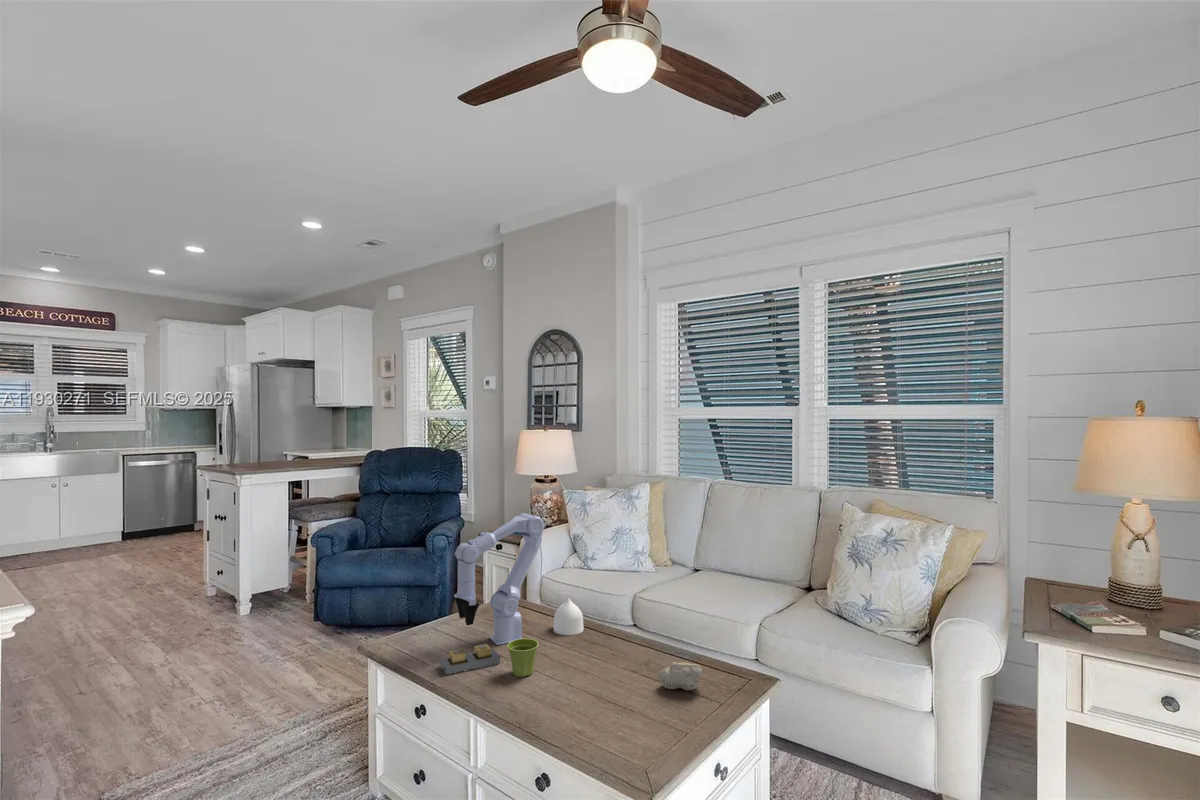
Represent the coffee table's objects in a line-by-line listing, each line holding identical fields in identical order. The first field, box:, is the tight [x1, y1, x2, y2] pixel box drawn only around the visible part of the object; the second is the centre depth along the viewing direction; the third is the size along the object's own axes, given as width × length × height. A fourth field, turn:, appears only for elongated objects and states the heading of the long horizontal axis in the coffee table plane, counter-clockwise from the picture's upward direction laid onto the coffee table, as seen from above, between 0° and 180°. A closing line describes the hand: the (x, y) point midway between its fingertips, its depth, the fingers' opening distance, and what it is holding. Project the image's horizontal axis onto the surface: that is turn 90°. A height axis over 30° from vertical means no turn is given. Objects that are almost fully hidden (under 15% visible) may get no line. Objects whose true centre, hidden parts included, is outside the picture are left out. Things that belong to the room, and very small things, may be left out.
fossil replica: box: [657, 661, 703, 692], centre depth 173 cm, size 12×8×10 cm
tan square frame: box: [474, 643, 492, 660], centre depth 190 cm, size 4×4×5 cm
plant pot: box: [506, 638, 540, 678], centre depth 183 cm, size 9×9×9 cm
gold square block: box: [448, 648, 466, 665], centre depth 186 cm, size 4×4×5 cm
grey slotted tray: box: [439, 648, 501, 675], centre depth 188 cm, size 17×7×2 cm, turn 119°
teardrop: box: [552, 596, 585, 636], centre depth 219 cm, size 11×11×12 cm
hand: (466, 621), depth 201 cm, fingers open, 7 cm apart
